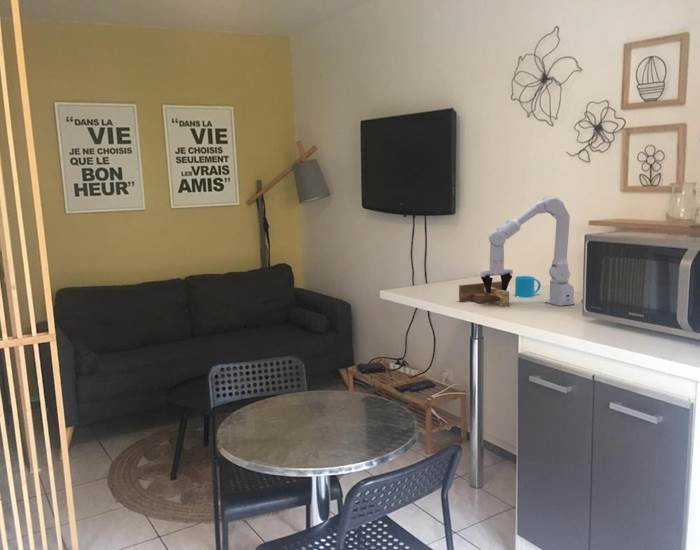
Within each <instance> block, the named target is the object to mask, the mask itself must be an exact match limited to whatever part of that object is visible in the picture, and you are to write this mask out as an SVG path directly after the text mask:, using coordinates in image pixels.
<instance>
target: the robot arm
mask: <svg viewBox="0 0 700 550" xmlns="http://www.w3.org/2000/svg"><path fill="white" fill-rule="evenodd" d="M546 213H547V214H550V215H551V216H552V217H553V219H554V220H556V222H555V223H556V224H555V237H554V250H553V251H554V252H553V259H552V261H551V266H550V268H549V270H548V274H549V276H550V277H551V278H550V280H549V300H544V302H545V303H548V304H552V305H556V306H559V307H561V306H569V305H575V304H576V302H574V300H575V299H574V297H575V295H574V293H575V289H574V286H573V285H572V284H570V283H569V279H570V276H571V271H570V270H569V263H568V249H569V248H568V246H569V235H570V221H571V220H570V219H571V216H570V213H569V211H568V210H567V208H566V206H565V204H564V202H563V201H562V200H561V199H560V198H558V197H556V196H555V197H553V196H545V197H543V198H541V199H540V200H538V201H537V202H535V203H534V204H533V205H532V206H530V207H529V208H528V209H527V210H525V211H524V212H523V213H522V214H520V215H519V216H518V217H517V218H516V219H515V218H511V219H507V220H505V223H504V224H502V225H501V226H500V227H497V228H496V230H494V231H492V232H491V233H490V234H489V236H488V240H489V242H490V244H489V270H485V271H480V272H479V273H480V279H481V280H482V283H484V285H485V288H486V293H488V294H491V284H492V282H493V277H492V276H500V281H502V290H505V291H508V290H507V289H508V287H509V285H510V282H511V280H512V278H513V272H514V271H513V269H511V268H509V269H506V268H504V267H505V249H504V248H505V247H504V246H505V243H506V240H508V239H509V238H511V237H513V236H514V235H515V234H516V233H517V232H519V231H520V230H521V226H522V225H523V224H525V223H526V222H528V221H529V220H530V219H532V218H534V217H535V216H537V215H538V214H539V215H540V214H541V215H542V214H546Z"/></svg>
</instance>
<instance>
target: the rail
mask: <svg viewBox="0 0 700 550" xmlns="http://www.w3.org/2000/svg"><path fill="white" fill-rule="evenodd" d="M484 294H485V295H487V294H488V293H486V288H485V287H484ZM489 295H493V296H496V297H500V301H499V306H500V307H503V308H506V307H505V306H507V307H510V291H508V290H507V291H505V290H501V289H497V288H493V287H491V294H489Z"/></svg>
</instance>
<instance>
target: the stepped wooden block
mask: <svg viewBox="0 0 700 550" xmlns="http://www.w3.org/2000/svg"><path fill="white" fill-rule="evenodd" d="M484 287H485V285H484V283H483V282H479V283H477V282H476V283H467V284H459V285H458V301H459V302H461V303H465V302H474V303H477V304H479V303H480V304H487V303H486V302H489V303H497V302H496V301H498V302H500V297H496V296H493V295H489V294H487V295H485V294H484ZM491 287H493V288H497V289H501V290H502V281H501V280H500V281H499V280H498V281H492V284H491Z"/></svg>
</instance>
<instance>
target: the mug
mask: <svg viewBox="0 0 700 550" xmlns="http://www.w3.org/2000/svg"><path fill="white" fill-rule="evenodd" d="M514 280H515V281H514V282H515V283H514V288H515V290H514V297H517V296H519V297H518V298H533V297H534V296H535V294H536V293H538V292H539V290H540V289H541V287H542V285H541V282H540V281H539V280H538V279H537V278H535V277H534V276H531V275H520V276H519V275H518V276H515V278H514ZM535 282H537V289H536V290H535ZM532 296H533V297H532Z"/></svg>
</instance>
